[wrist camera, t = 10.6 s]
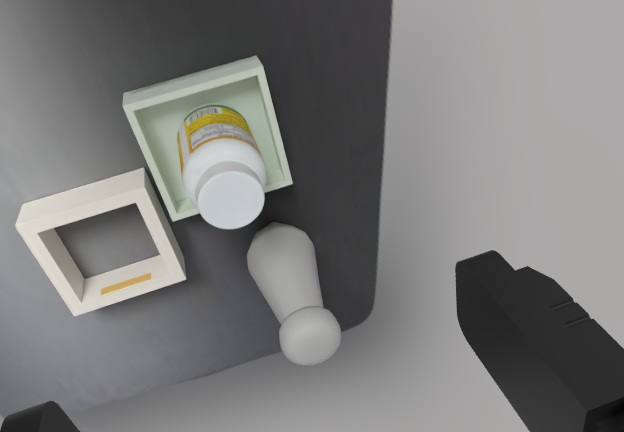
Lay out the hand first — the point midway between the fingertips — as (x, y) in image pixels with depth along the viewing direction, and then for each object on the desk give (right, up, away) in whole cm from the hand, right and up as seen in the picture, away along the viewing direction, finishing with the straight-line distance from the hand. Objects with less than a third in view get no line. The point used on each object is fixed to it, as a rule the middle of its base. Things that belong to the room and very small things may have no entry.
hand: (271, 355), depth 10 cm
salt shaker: (-2, +1, +36) cm, 36 cm away
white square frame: (-15, +1, +31) cm, 35 cm away
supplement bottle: (-6, +9, +29) cm, 31 cm away
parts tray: (-7, +9, +29) cm, 31 cm away
